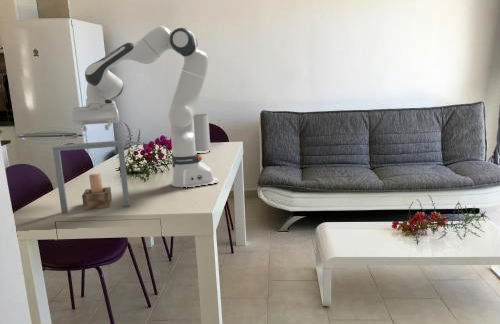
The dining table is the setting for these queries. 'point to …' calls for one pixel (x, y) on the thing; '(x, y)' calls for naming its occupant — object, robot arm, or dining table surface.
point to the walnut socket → (97, 199)
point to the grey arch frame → (89, 146)
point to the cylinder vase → (201, 132)
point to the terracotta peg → (95, 183)
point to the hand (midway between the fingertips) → (95, 130)
